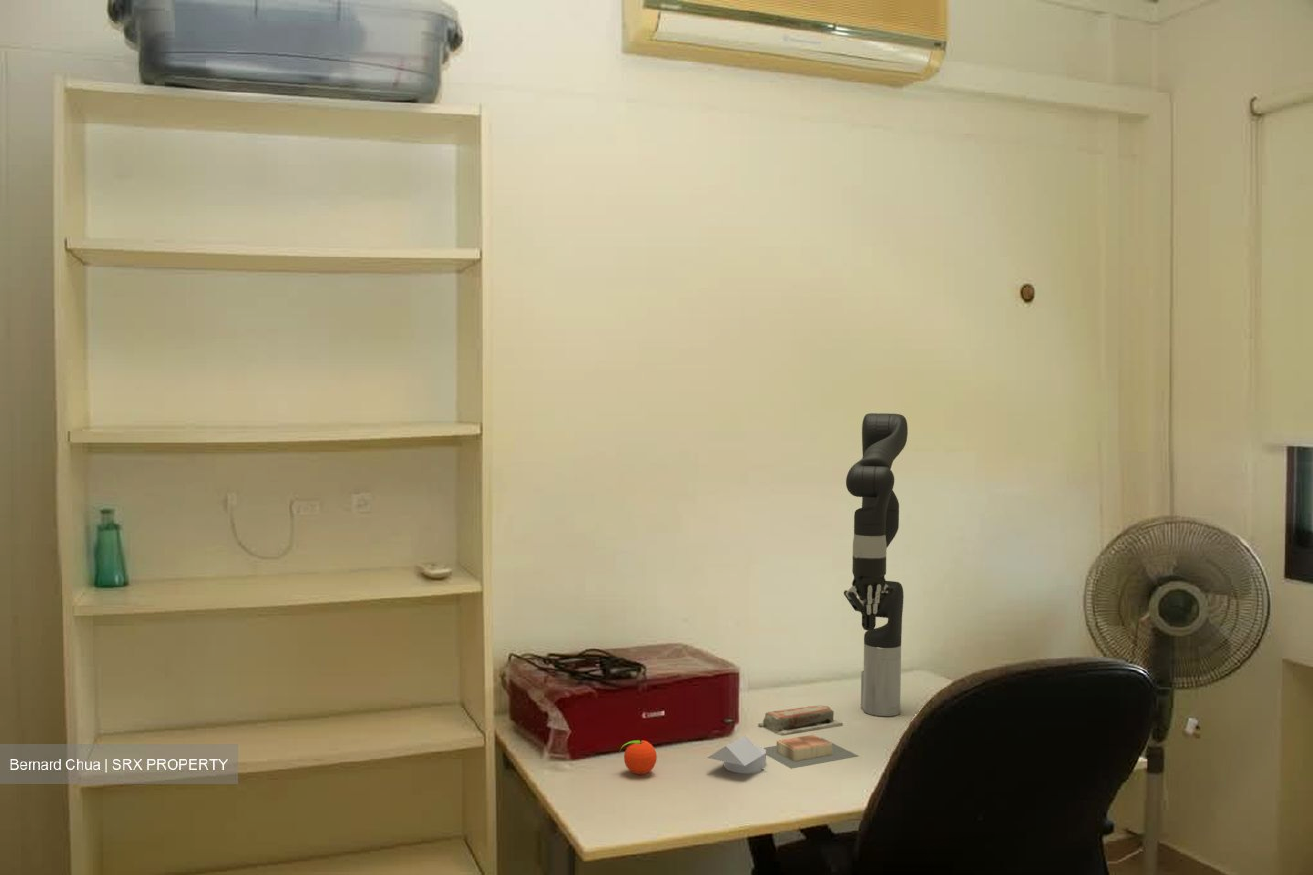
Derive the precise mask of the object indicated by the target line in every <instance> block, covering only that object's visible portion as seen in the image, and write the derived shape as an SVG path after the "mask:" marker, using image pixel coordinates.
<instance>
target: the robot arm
mask: <svg viewBox="0 0 1313 875" xmlns="http://www.w3.org/2000/svg"><path fill="white" fill-rule="evenodd" d="M861 423H862V424H861V447H862V457H861V459H860V460H858V461H857V462H856V463H854V464H853V465H852V466H851V467H850V468H849V471H848V472H847V475H846V479H845V485H846V489H847V491H848V493H849V494H851V496H853V497H855V498H856V497H857V498H861V500H862V501H861V507H860V508H858V509H856V510H855V511H854V515H853V539H852V566H851V568H852V575H853V580H852V582H851V586H850V588H849V589H848V590H845V589H844V591H843V595H844V597H845V598H846V600H847V601H848V602H849V604H850V605H851V607H852V609H853V610H854V611H855V612H858V613H860V614H861V627H862V629H863V630H864V631H865V633H864V634H863V670H862V671H861V673H860V674H861V678H860V682H861V684H860V708H861V709H862V711H863V712H864V713H866V714H868V715H871V716H877V717H893V716H897V715H899V714H900V713H901V694H902V693H901V692H902V691H901V690H902V688H901V685H902V684H901V682H902V681H901V680H902V635H903V634H902V632H903V629H902V628H903V609H904V589H903V585H902V584H901V583H900V582H899V581H893V580H886V578H885V576H886V574H887V548H889V546H890V544H892V541H893V540H894V539H895V538H896V535H897V534H898V530H899V527H900V526H899V525H900V503H899V498H898V497H897V495H896V493H895V492H894V490H893V489H894V486H895V485H894V484H895V474H894V472H893V471H892V470H891V469H892V465H893V463H894V461H895V459H896V458H897V457H898V456H899V455H900V453H901V452H902V451H903V450H904V449H905V446H906V444H907V441H908V434H909V432H908V430H909V429H908V428H909V427H908V421H907V419H906V417H905V415H903V414H900V413H888V412H887V413H884V412H883V413H882V412H881V413H878V412H877V413H871V412H869V413H867V414H865V415H864V417H863V420H862V422H861ZM877 618H883V619H887V622H886V623H885V624H884V625H882V626H879V627H876V624H877V622H876V621H877Z"/></svg>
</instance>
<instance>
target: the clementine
mask: <svg viewBox="0 0 1313 875" xmlns="http://www.w3.org/2000/svg"><path fill="white" fill-rule="evenodd" d="M628 744H629V745H628ZM626 745H628V746H627V747H626V748H625V751H624V755H623V760H624V764H625V767H626V769H628V770H629V771H630V772H631V773H632V774H636V775H646V774H648V773H649V772H651V771H652V770H653V769H654V768H655V765H656V763H657V759H658V756H657V752H656V751H657V750H656V749H655V747H654V746H653V744H651V743H650V742H649V741H647V740H641V739H639V740H631V741H628V742H627V743H626V742H625V743H624V744H623V745H622V746H621V748H620V750H619V753H620V752H621V750H622V748H623V747H625V746H626Z"/></svg>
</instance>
